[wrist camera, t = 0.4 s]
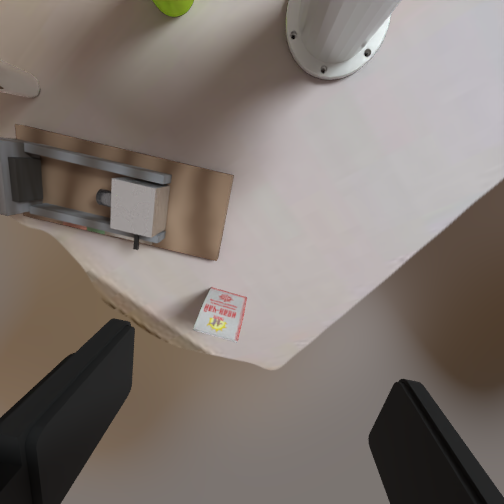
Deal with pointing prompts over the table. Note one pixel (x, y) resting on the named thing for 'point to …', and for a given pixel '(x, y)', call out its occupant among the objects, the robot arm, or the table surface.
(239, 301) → the tea bag
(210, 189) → the gauge bench
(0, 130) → the table surface
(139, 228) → the slider
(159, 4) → the soap dispenser
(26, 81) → the milkshake
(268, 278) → the table surface
